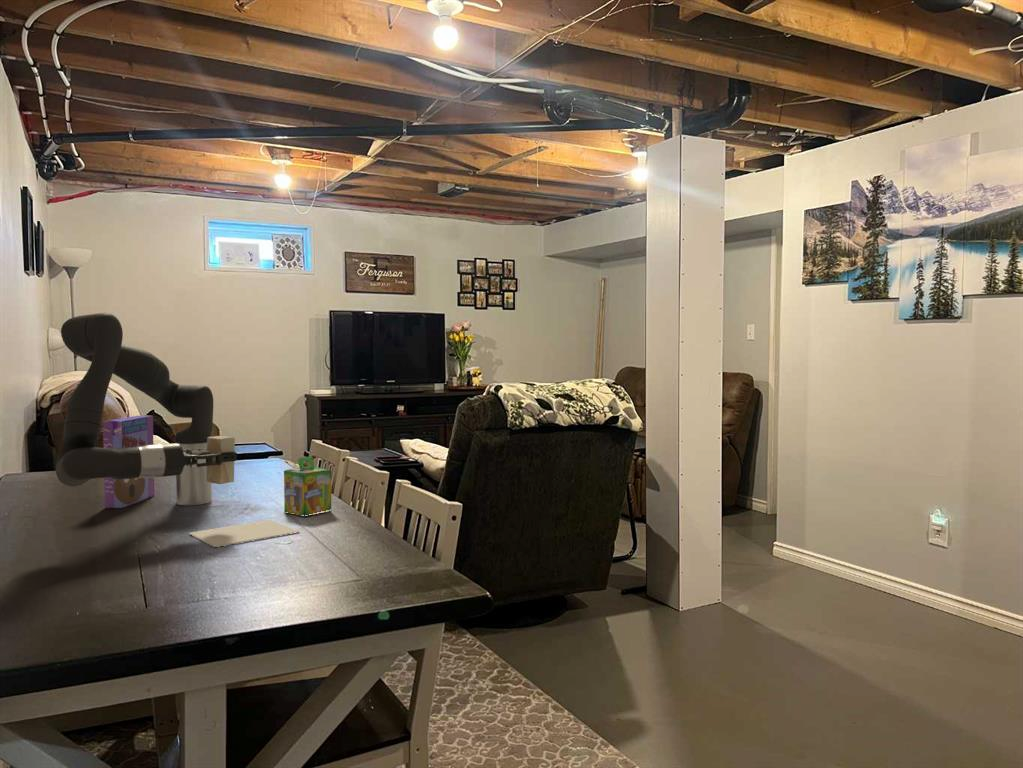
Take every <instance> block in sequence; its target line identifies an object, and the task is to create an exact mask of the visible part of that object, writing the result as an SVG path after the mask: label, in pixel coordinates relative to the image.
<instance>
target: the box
mask: <svg viewBox="0 0 1023 768" xmlns="http://www.w3.org/2000/svg"><path fill="white" fill-rule="evenodd" d="M235 440H236V438H235V437H233V436H224V435H216V436H215V435H214V436H211V437H207V451H211V453H218V452H220V453H224V452H236V451H235V450H236V449H235V443H236V442H235ZM212 461H216V457H213V458H212ZM207 482H209V483H212V484H216V485H224V484H228V483H235V461H230V462H222V464H220V465H210V466H207Z"/></svg>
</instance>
